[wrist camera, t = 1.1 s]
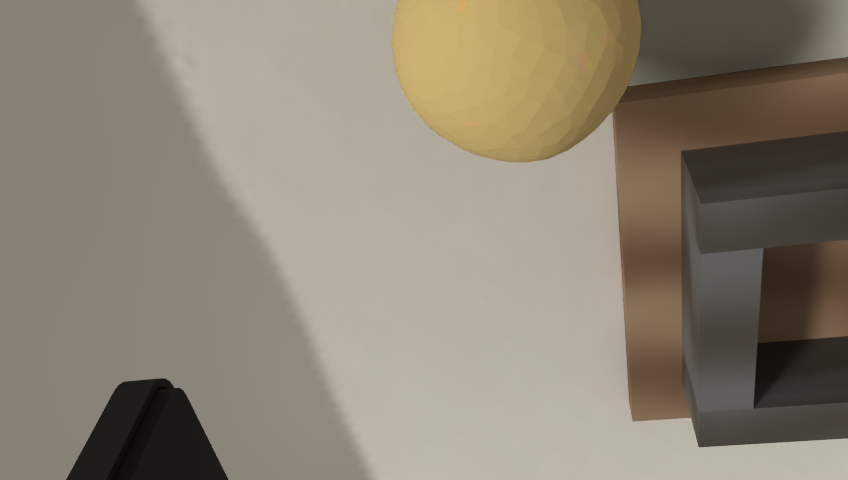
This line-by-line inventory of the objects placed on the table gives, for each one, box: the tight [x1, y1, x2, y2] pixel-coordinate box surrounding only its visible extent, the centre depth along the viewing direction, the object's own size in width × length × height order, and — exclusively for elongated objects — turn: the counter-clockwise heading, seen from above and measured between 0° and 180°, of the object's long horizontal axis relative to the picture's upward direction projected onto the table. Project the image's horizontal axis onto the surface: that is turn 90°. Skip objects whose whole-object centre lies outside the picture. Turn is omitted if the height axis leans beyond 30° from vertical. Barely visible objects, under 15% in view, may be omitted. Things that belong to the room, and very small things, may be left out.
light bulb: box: [392, 0, 641, 162], centre depth 23 cm, size 6×6×10 cm
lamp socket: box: [613, 57, 848, 447], centre depth 30 cm, size 16×16×5 cm
